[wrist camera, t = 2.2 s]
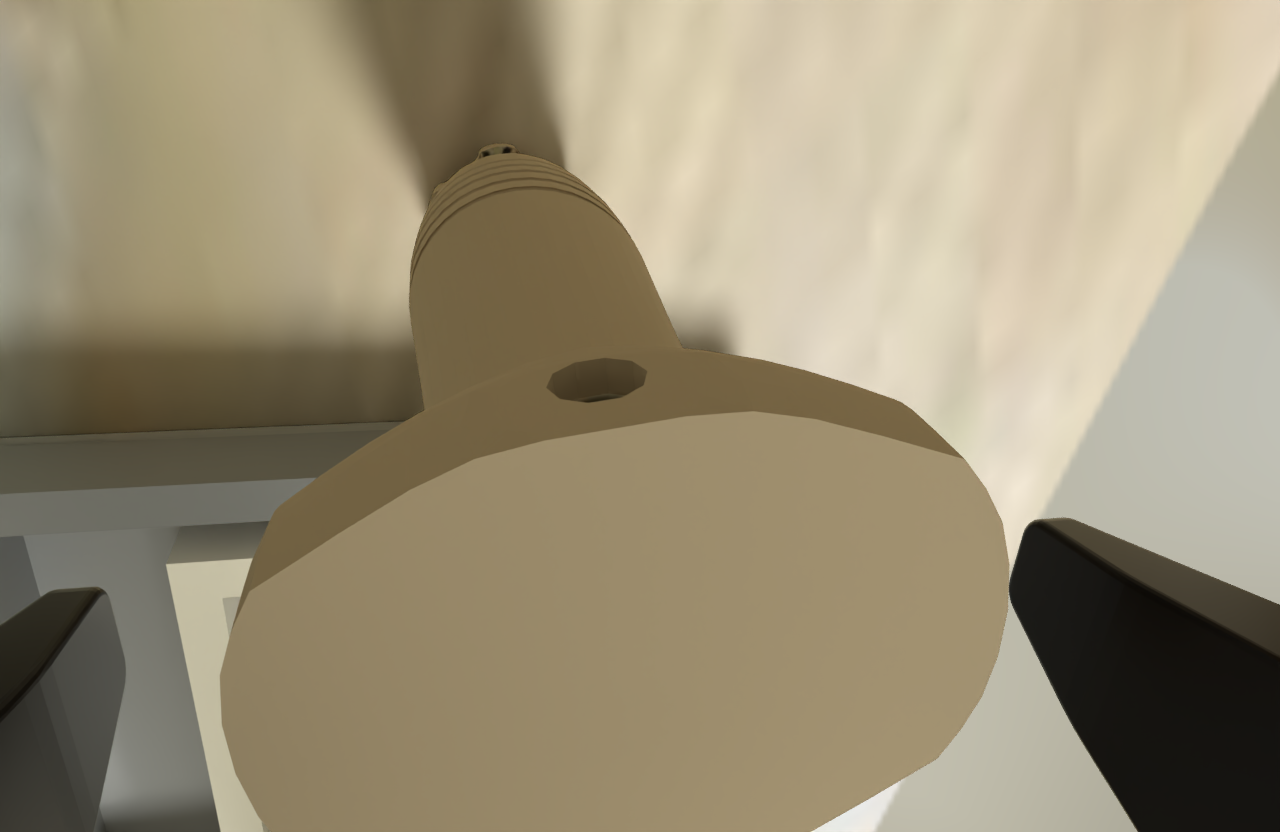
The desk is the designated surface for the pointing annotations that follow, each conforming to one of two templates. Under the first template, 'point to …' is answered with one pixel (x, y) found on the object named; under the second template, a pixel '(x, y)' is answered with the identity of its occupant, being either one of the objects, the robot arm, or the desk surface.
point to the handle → (605, 566)
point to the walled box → (160, 585)
